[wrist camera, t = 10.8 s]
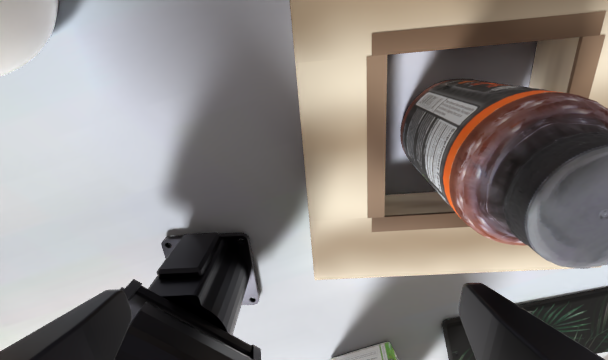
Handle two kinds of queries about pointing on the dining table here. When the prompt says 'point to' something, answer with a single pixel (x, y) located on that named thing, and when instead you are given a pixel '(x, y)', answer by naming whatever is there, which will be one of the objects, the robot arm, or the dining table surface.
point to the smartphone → (550, 322)
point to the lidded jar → (24, 31)
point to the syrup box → (371, 353)
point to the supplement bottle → (517, 164)
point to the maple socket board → (372, 122)
